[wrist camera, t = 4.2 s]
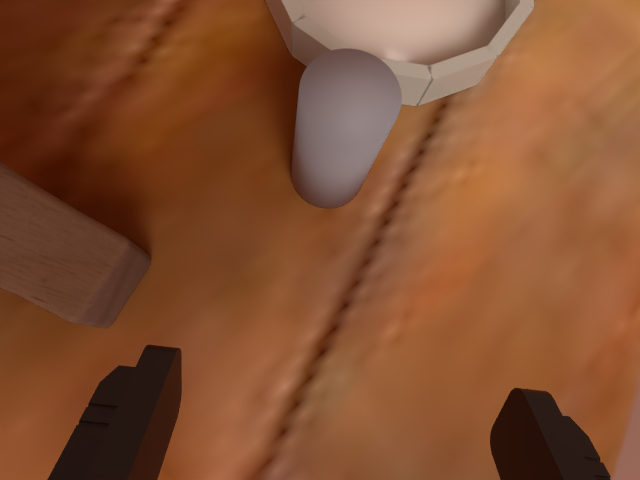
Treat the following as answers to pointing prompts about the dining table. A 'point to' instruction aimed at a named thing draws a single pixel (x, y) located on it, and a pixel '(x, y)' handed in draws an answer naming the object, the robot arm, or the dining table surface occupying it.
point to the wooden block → (63, 255)
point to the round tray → (406, 37)
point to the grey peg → (341, 124)
